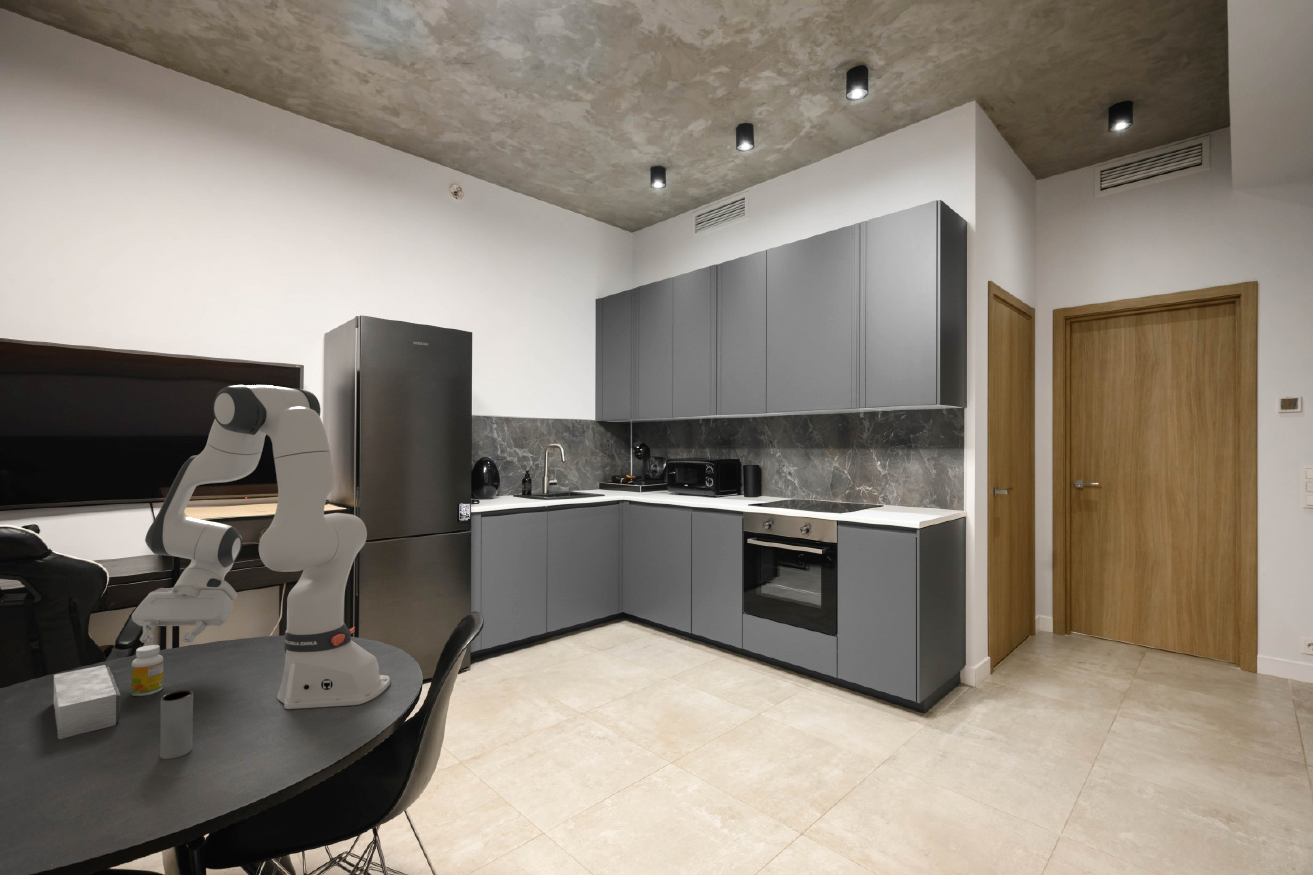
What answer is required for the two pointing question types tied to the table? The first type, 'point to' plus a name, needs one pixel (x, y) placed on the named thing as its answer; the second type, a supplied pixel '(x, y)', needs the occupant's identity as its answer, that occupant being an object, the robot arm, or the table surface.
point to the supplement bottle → (147, 671)
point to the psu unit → (85, 701)
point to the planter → (176, 724)
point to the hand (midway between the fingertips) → (165, 641)
